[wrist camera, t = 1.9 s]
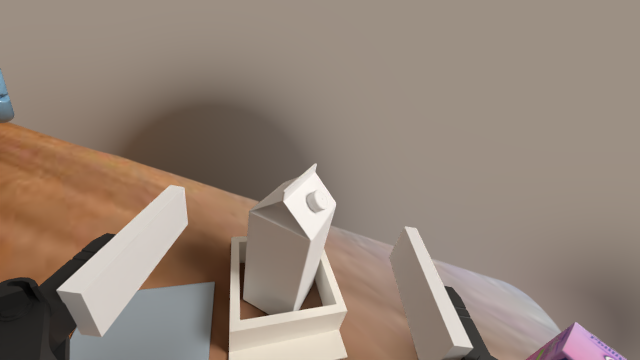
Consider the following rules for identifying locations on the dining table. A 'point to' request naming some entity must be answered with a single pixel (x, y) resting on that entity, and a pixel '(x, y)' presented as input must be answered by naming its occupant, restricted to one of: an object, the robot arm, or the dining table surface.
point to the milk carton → (286, 243)
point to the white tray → (287, 321)
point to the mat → (155, 327)
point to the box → (576, 347)
